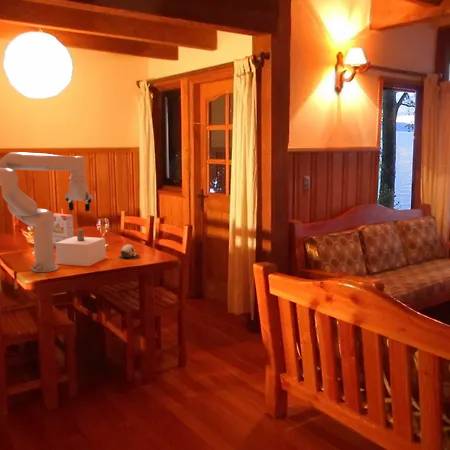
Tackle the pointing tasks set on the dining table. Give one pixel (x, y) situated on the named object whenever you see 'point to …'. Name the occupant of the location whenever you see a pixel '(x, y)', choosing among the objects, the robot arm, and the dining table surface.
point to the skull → (128, 253)
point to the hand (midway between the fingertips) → (79, 210)
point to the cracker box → (62, 227)
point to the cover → (80, 250)
